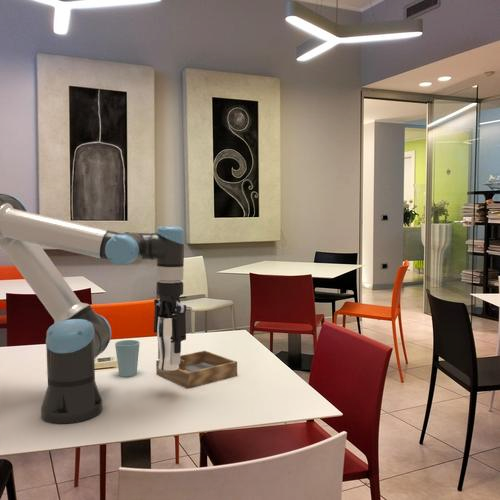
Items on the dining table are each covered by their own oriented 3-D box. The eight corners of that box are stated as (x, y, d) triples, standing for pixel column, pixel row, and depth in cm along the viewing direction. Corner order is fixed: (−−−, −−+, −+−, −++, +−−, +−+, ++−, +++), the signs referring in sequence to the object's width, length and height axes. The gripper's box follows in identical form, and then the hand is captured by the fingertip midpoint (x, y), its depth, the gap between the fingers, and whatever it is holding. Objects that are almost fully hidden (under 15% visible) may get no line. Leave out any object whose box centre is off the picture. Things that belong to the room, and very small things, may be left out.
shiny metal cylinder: (183, 370, 146) (184, 317, 145) (159, 372, 143) (160, 319, 142) (177, 363, 152) (178, 313, 151) (154, 365, 150) (155, 314, 149)
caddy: (187, 388, 153) (187, 373, 153) (156, 374, 167) (156, 360, 166) (237, 375, 165) (237, 361, 165) (204, 363, 179) (204, 350, 179)
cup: (142, 376, 165) (141, 344, 164) (118, 379, 162) (117, 346, 161) (137, 369, 172) (136, 338, 171) (114, 372, 169) (113, 341, 168)
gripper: (200, 284, 141) (198, 366, 143) (164, 276, 156) (163, 351, 157) (177, 286, 136) (175, 371, 138) (141, 278, 151) (140, 355, 153)
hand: (168, 361), depth 148 cm, fingers closed on shiny metal cylinder, 6 cm apart
